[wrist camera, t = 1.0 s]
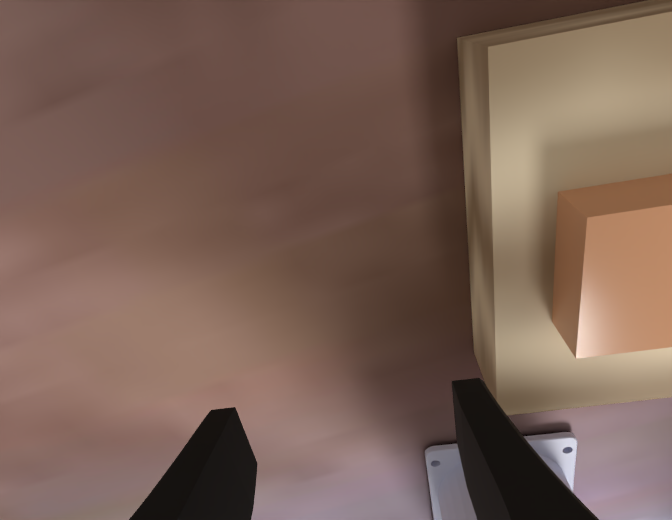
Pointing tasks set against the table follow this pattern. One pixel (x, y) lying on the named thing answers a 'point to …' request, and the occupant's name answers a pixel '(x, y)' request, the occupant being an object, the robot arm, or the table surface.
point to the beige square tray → (556, 187)
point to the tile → (614, 267)
